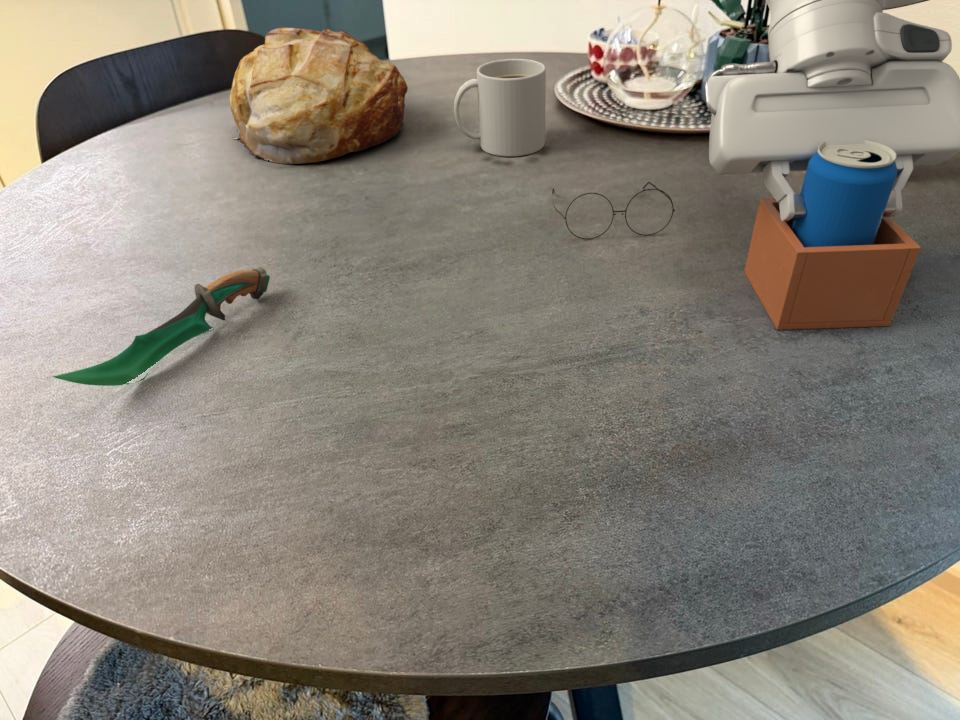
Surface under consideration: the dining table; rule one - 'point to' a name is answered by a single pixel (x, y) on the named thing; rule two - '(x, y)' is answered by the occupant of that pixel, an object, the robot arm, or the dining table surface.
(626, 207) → the eyeglasses
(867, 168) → the beverage can
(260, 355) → the dining table surface
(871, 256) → the box
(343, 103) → the bread
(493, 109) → the mug
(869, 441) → the dining table surface
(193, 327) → the knife
